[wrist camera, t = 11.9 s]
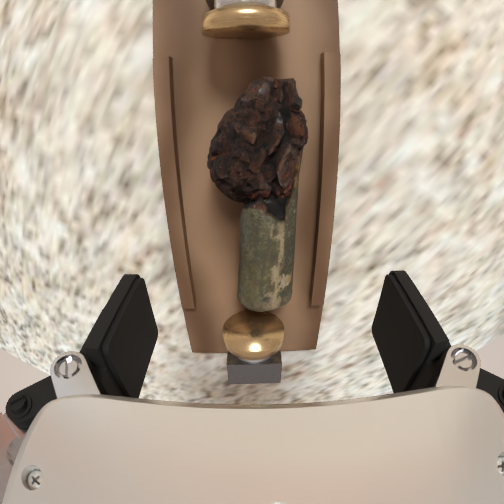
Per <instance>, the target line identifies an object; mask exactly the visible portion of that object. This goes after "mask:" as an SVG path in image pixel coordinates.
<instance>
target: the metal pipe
mask: <svg viewBox="0 0 504 504" xmlns="http://www.w3.org/2000/svg"><path fill="white" fill-rule="evenodd" d="M301 108H302V99H301V98H300V97H299V95H298V92H297V89H296V81H295V80H294V78H288V79H277V78H273V77H262V78H261V79H259V80H254V81H252V82H251V83H250V84H249V85H248V86H247V88H246V89H245V91H244V92H243V93H242V94H241V95H240V96H239V97H238V99H237V101H236V103H235V106H234V108H232V109H230V110H228V111H227V112H226V113H225V114H224V116H223V117H222V119H221V121H220V122H219V124H218V126H217V132H216V134H215V135H214V137H213V138H212V140H211V143H210V148H209V154H208V156H207V157H208V161H207V167H208V169H210V177H211V179H212V181H213V182H214V183H215V185H216V187H217V188H218V189H219V190H220V191H221V192H222V193H223V194H224V195H225V196H226V197H228V198H229V199H231V200H233V201H235V202H239V203H244V208H243V210H242V212H241V214H240V224H239V258H240V262H239V270H238V289H237V298H238V300H239V302H240V303H241V304H242V305H244V306H245V307H246V308H247V309H250V310H252V311H257V312H264V311H270V310H275V309H278V308H281V307H283V306H285V305H286V304H287V303H289V301H290V300H291V296H292V294H293V292H292V285H293V269H294V255H295V236H296V217H297V202H298V184H299V172H300V166H301V160H302V153H303V147H304V146H305V144H307V141H308V128H307V126H306V122H307V120H306V119H305V115H304V113H303V112H302V111H301V110H300V109H301Z"/></svg>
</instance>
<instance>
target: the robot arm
mask: <svg viewBox="0 0 504 504" xmlns="http://www.w3.org/2000/svg"><path fill="white" fill-rule="evenodd" d="M372 334H373V337H374V340H375V342H376V345H377V348H378V350H379V353H380V356H381V358H382V361H383V364H384V367H385V369H386V372H387V375H388V378H389V381H390V383H391V386H392V389H393V392H394V393H393V394H386V395H379V396H372V397H365V398H356V399H348V400H338V401H327V402H314V403H298V404H271V405H228V404H201V403H185V402H172V401H161V400H150V399H140V398H139V395H140V391H141V388H142V385H143V381H144V378H145V375H146V372H147V369H148V365H149V362H150V359H151V356H152V353H153V350H154V347H155V344H156V341H157V337H158V329H157V325H156V322H155V318H154V315H153V311H152V307H151V304H150V300H149V296H148V292H147V288H146V284H145V281H144V279H143V278H140V276H139V275H138V274H125V275H124V276H123V277H122V279H121V280H120V282H119V284H118V285H117V287H116V289H115V290H114V292H113V294H112V295H111V297H110V299H109V301H108V302H107V304H106V306H105V307H104V309H103V310H102V312H101V314H100V315H99V317H98V319H97V321H96V323H95V324H94V326H93V328H92V330H91V332H90V333H89V335H88V337H87V339H86V341H85V343H84V345H83V347H82V349H81V350H80V352H75V351H69V352H65V353H63V354H61V355H59V356H58V357H57V358H56V359H55V360H54V361H53V363H52V364H51V368H50V374H51V376H49V377H47V378H45V379H43V380H41V381H39V382H37V383H35V384H33V385H31V386H29V387H27V388H25V389H23V390H21V391H19V392H17V393H15V394H14V395H12V396H11V397H10V399H9V400H8V402H7V405H6V413H5V414H4V415H3V414H2V413H0V504H504V379H502V378H500V377H498V376H496V375H494V374H491V373H489V372H487V371H485V370H483V369H481V368H480V366H481V361H480V358H479V356H478V354H477V353H476V352H475V351H474V350H473V349H472V348H470V347H468V346H465V345H454V346H452V347H451V345H450V343H449V339H448V338H447V336H446V334H445V332H444V331H443V329H442V327H441V326H440V324H439V322H438V321H437V319H436V317H435V316H434V314H433V313H432V311H431V309H430V308H429V306H428V305H427V303H426V301H425V300H424V298H423V297H422V295H421V294H420V292H419V291H418V289H417V288H416V286H415V285H414V283H413V282H412V280H411V279H410V277H409V276H408V274H407V273H406V272H405V271H391V272H390V273H389V275H386V277H385V280H384V284H383V288H382V292H381V296H380V300H379V303H378V307H377V311H376V314H375V318H374V321H373V325H372Z"/></svg>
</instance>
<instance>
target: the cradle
mask: <svg viewBox="0 0 504 504" xmlns="http://www.w3.org/2000/svg"><path fill="white" fill-rule="evenodd" d="M280 9H282V10H284V11H286V12H288V13H289V16H290V32H289V33H288V34H286V35H283V36H279V37H272V38H262V39H216V38H209V37H206V36H203V35H202V15H203V14H205V13H206V12H208V11H210V9H209V7H208V4H207V2H206V0H153V57H154V58H153V77H154V96H155V111H156V124H157V136H158V147H159V157H160V166H161V175H162V184H163V192H164V200H165V207H166V215H167V222H168V229H169V235H170V242H171V248H172V254H173V260H174V266H175V272H176V277H177V283H178V288H179V294H180V299H181V304H182V309H183V311H184V316H185V321H186V326H187V331H188V335H189V340H190V345H191V349H192V352H202V353H228V350H227V348H226V347H225V344H224V339H223V326H224V323H225V322H226V320H227V319H228V318H229V317H231V316H232V315H234V314H235V313H238V312H240V311H244V310H250V309H247V308H246V307H245V306H244V305H242V304H241V303H240V302H239V300H238V298H237V289H238V270H239V262H240V258H239V224H240V214H241V212H242V210H243V208H244V203H239V202H235V201H233V200H231V199H229V198H228V197H226V196H225V195H224V194H223V193H222V192H221V191H220V190H219V189H218V188H217V187H216V185H215V183H214V182H213V181H212V179H211V177H210V169H208V167H207V161H208V157H207V156H208V154H209V148H210V143H211V140H212V138H213V137H214V135H215V134H216V132H217V126H218V124H219V122H220V121H221V119H222V117H223V116H224V114H225V113H226V112H227V111H228V110H230V109H232V108H234V106H235V103H236V101H237V99H238V97H239V96H240V95H241V94H242V93H243V92H244V91H245V89H246V88H247V86H248V85H249V84H250V83H251V82H252V81H254V80H259V79H261V78H262V77H273V78H277V79H288V78H294V80H295V81H296V89H297V92H298V95H299V97H300V98H301V99H302V108H301V109H300V110H301V111H302V112H303V113H304V115H305V119H306V120H307V122H306V126H307V128H308V141H307V144H305V146H304V147H303V153H302V160H301V166H300V172H299V184H298V202H297V217H296V236H295V255H294V269H293V285H292V292H293V294H292V296H291V300H290V301H289V303H287V304H286V305H285V306H283V307H281V308H278V309H275V310H270V311H268V312H270V313H272V314H274V315H276V316H277V317H278V318H279V319H280V320H281V321H282V323H283V325H284V341H283V345H282V347H281V348H280V351H296V350H312V349H316V345H317V340H318V333H319V327H320V321H321V314H322V308H323V304H324V297H325V290H326V283H327V275H328V267H329V259H330V250H331V241H332V231H333V221H334V210H335V198H336V185H337V171H338V153H339V131H340V88H341V67H340V48H339V19H338V0H284V1H283V4H282V6H281V8H280Z"/></svg>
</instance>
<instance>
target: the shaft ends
mask: <svg viewBox="0 0 504 504" xmlns="http://www.w3.org/2000/svg"><path fill="white" fill-rule="evenodd" d="M283 1H284V0H206V2H207V4H208V7H209V9H210V11H208V12H206V13H205V14H203V15H202V35H203V36H206V37H209V38H216V39H262V38H272V37H279V36H283V35H286V34H288V33H289V32H290V16H289V13H288V12H286V11H284V10H282V9H280V8H281V6H282V4H283ZM223 339H224V344H225V347H226V348H227V350H228V354H227V370H228V378H229V384H254V383H280V381H281V367H282V361H281V352H280V348H281V347H282V345H283V341H284V325H283V323H282V321H281V320H280V319H279V318H278V317H277V316H276V315H274V314H272V313H270V312H268V311H264V312H257V311H252V310H244V311H240V312H238V313H235V314H234V315H232V316H231V317H229V318H228V319H227V320H226V322H225V323H224V326H223Z"/></svg>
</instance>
